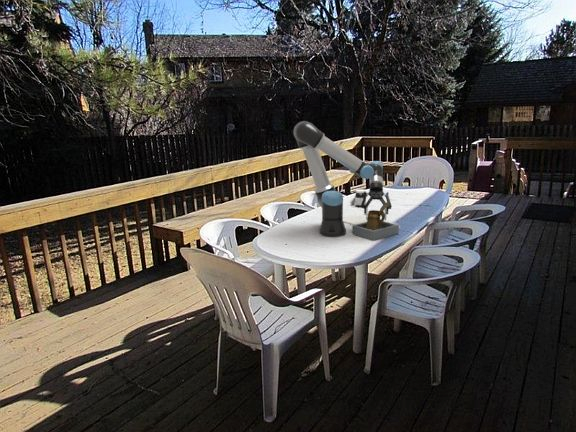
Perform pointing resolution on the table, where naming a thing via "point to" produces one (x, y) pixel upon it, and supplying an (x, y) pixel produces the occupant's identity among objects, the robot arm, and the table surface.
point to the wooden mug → (376, 218)
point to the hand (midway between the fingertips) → (376, 218)
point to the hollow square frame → (375, 231)
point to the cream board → (354, 219)
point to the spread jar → (358, 198)
